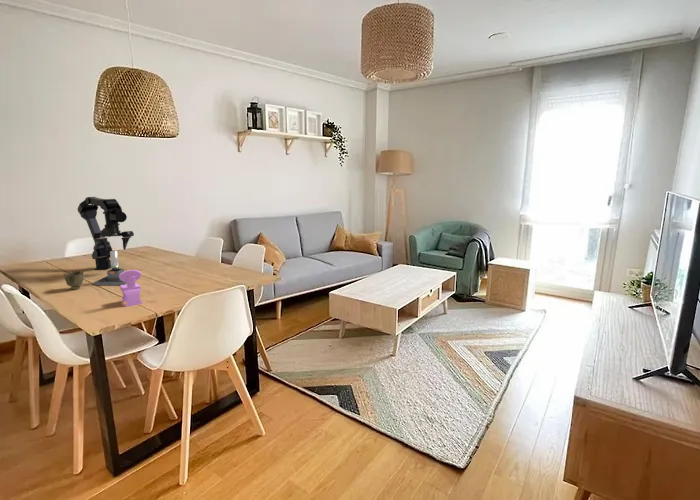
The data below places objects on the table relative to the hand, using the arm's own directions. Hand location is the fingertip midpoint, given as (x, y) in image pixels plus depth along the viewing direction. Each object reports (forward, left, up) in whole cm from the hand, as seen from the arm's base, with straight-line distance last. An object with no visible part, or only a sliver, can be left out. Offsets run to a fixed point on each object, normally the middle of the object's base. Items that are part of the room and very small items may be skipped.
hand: (115, 250), depth 204 cm
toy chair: (+31, -51, -13) cm, 61 cm away
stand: (+8, -18, -13) cm, 24 cm away
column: (+8, -18, -9) cm, 22 cm away
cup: (-4, -31, -13) cm, 34 cm away
